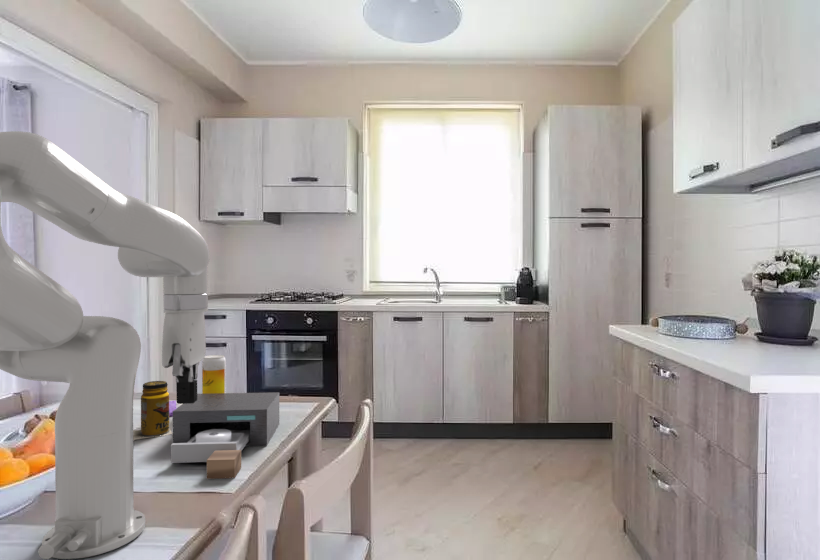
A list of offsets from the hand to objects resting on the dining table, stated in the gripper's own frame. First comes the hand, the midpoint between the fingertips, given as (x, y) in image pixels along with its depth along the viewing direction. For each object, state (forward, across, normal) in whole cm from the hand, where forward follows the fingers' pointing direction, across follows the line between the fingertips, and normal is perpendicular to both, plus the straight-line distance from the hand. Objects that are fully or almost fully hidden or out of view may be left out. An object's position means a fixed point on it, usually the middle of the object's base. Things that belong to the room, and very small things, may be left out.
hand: (187, 402), depth 94 cm
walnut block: (+14, -1, +6) cm, 15 cm away
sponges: (+15, -46, -22) cm, 53 cm away
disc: (+12, -12, +1) cm, 17 cm away
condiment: (+14, -27, -18) cm, 35 cm away
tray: (+13, -13, +1) cm, 18 cm away
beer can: (+15, -46, -9) cm, 49 cm away
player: (+14, -24, +1) cm, 28 cm away
